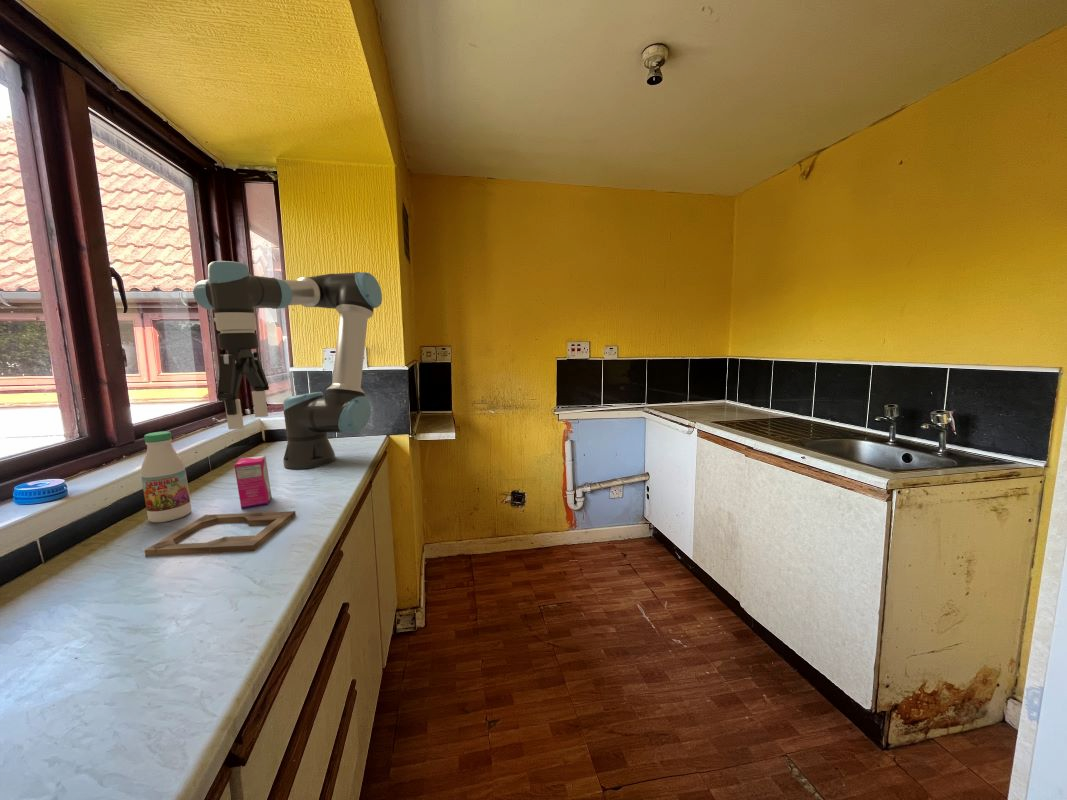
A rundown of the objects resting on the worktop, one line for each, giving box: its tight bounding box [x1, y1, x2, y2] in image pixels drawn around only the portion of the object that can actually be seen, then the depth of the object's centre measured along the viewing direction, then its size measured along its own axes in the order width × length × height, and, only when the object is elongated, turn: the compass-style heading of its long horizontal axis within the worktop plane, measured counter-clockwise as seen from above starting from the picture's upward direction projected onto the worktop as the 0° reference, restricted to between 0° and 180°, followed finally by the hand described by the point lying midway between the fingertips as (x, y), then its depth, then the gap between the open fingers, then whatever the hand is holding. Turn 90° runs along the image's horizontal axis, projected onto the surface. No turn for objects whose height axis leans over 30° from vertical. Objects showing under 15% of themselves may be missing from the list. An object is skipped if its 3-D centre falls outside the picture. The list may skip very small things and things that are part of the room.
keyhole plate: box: [144, 510, 297, 557], centre depth 88 cm, size 16×20×1 cm
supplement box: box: [233, 455, 273, 510], centre depth 103 cm, size 6×6×12 cm
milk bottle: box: [140, 431, 192, 523], centre depth 96 cm, size 8×8×20 cm
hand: (249, 422), depth 99 cm, fingers open, 13 cm apart
